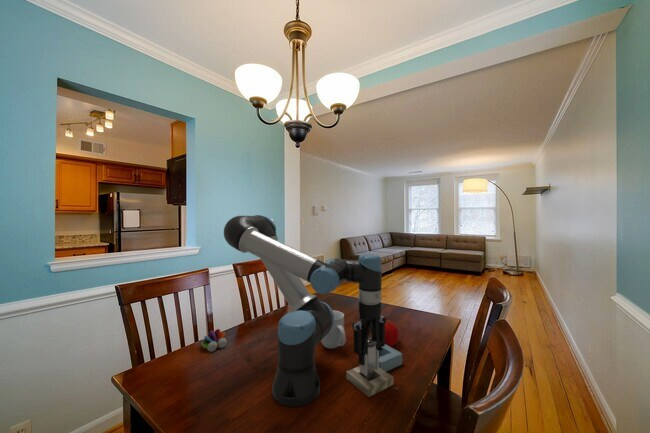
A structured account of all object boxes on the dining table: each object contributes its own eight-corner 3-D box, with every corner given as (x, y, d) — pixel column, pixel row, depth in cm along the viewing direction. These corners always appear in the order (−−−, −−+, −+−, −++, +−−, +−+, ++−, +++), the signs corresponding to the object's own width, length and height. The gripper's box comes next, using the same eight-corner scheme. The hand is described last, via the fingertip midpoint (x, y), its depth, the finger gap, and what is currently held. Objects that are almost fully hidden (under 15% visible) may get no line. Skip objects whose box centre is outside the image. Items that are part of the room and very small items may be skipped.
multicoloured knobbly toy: (229, 346, 112) (229, 329, 112) (206, 355, 105) (206, 337, 105) (220, 340, 118) (220, 323, 118) (198, 348, 111) (198, 330, 111)
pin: (369, 387, 86) (369, 344, 86) (359, 380, 90) (359, 339, 90) (379, 383, 88) (379, 341, 88) (369, 375, 92) (370, 335, 92)
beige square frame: (368, 397, 81) (368, 389, 81) (346, 378, 91) (346, 371, 91) (393, 384, 87) (393, 377, 87) (370, 368, 97) (370, 361, 97)
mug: (355, 350, 109) (355, 319, 109) (333, 358, 103) (333, 325, 103) (334, 336, 122) (334, 308, 121) (313, 343, 116) (313, 313, 115)
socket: (381, 373, 93) (381, 362, 93) (360, 359, 103) (360, 349, 103) (402, 364, 100) (402, 353, 99) (380, 351, 109) (380, 341, 109)
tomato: (394, 354, 107) (394, 328, 107) (367, 346, 112) (367, 322, 112) (401, 341, 117) (401, 318, 117) (376, 335, 123) (376, 313, 123)
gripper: (357, 310, 81) (356, 386, 81) (396, 299, 91) (396, 368, 91) (342, 303, 87) (341, 373, 87) (380, 294, 97) (380, 358, 97)
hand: (369, 370), depth 89 cm, fingers open, 4 cm apart
